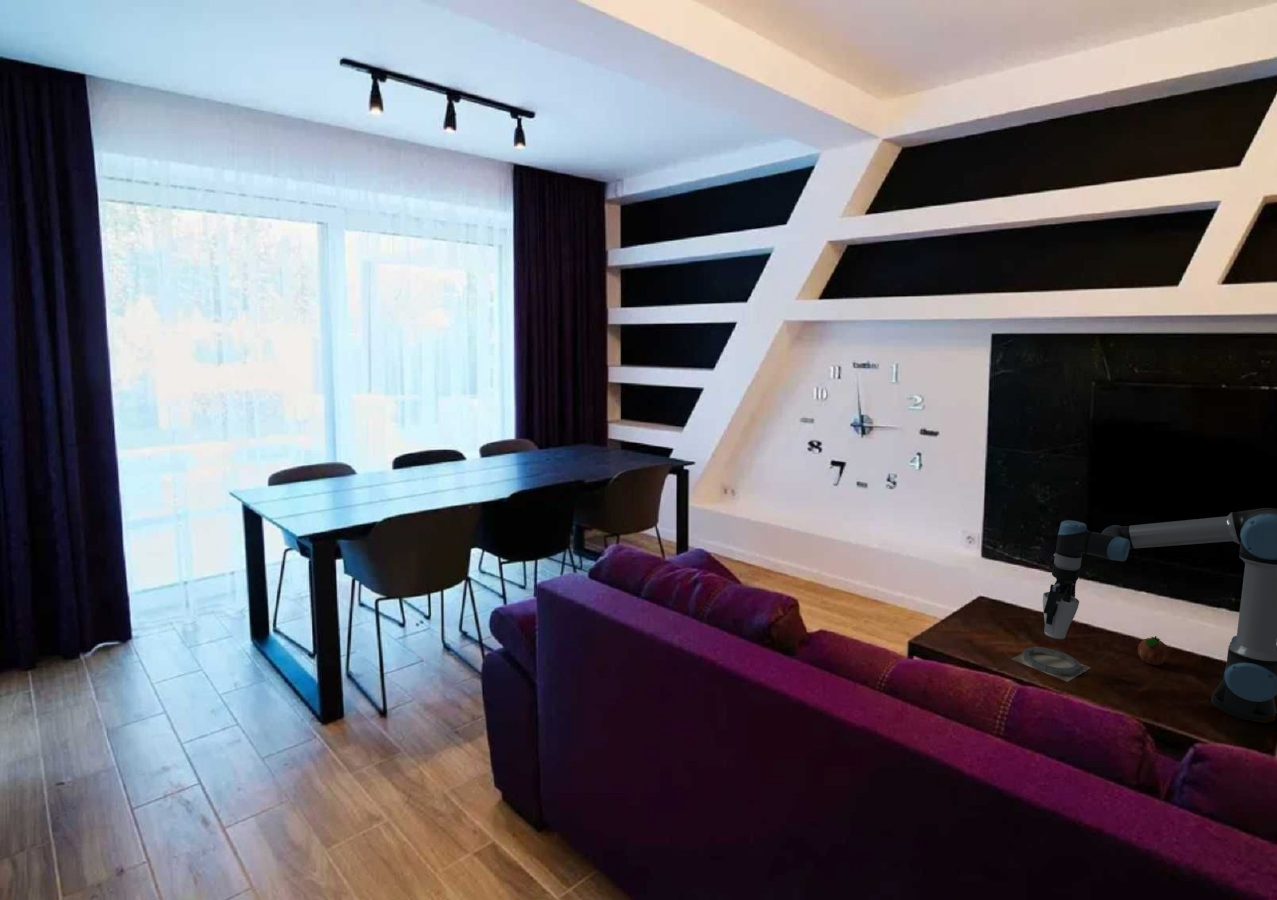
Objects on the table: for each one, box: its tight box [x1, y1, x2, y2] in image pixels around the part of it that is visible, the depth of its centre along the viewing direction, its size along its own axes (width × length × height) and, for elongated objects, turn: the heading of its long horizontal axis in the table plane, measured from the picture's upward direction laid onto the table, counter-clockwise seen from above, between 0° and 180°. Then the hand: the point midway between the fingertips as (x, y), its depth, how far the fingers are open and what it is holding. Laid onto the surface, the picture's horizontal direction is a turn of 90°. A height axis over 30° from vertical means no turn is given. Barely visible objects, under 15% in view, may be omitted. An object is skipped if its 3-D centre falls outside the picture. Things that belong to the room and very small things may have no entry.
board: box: [1011, 652, 1092, 682], centre depth 235 cm, size 18×18×1 cm
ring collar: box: [1022, 646, 1081, 675], centre depth 235 cm, size 16×16×2 cm
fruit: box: [1137, 635, 1169, 666], centre depth 241 cm, size 9×10×10 cm
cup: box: [1042, 591, 1080, 640], centre depth 232 cm, size 10×10×14 cm
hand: (1055, 629), depth 233 cm, fingers closed on cup, 10 cm apart
